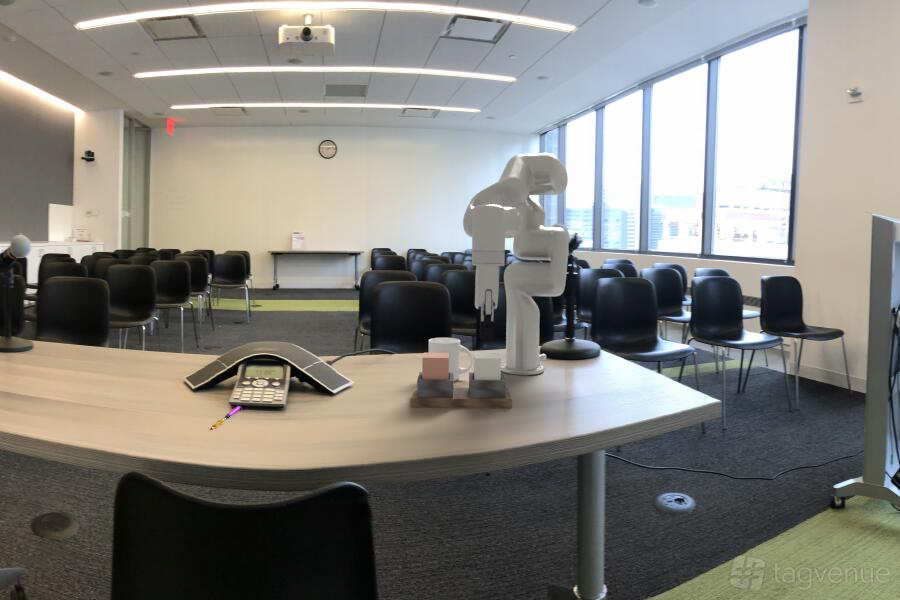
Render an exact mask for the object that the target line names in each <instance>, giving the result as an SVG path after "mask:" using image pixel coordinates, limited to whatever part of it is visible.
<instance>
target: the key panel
mask: <svg viewBox="0 0 900 600" xmlns="http://www.w3.org/2000/svg"><path fill="white" fill-rule="evenodd" d="M453 374H454V372H449V380H427V379H422V371H419V374H418V376H417V382H416V386H414V387H413V389H412V393H411V396H410V407H411V408H472V409H473V408H475V409H476V408H479V409H480V408H481V409H482V408H483V409H486V408H488V409H490V408H491V409H493V408H494V409H495V408H498V409H512V408H513V398H512V395H511V391H510V388H509V387H507V381H506V378H505V375H504V374H505V373H504V372H501V380H474V371H473V372H472V371H471V372H469V371H468V387H455V386H454V381H453Z"/></svg>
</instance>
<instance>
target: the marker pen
mask: <svg viewBox="0 0 900 600" xmlns="http://www.w3.org/2000/svg"><path fill="white" fill-rule="evenodd" d="M240 408H241V409H242V407H241V406H238V405H237V406H236V407H235V408H233V409H232V410H231V411H230V412H228V413H227V414H225V416H224V418H220V419H218V420H217V421H216V422H215V423H213V424H212V425H211V427H217V426H218V425H220V424H221V423H223V422H224V423H225V420H226V418H228V419H230V418H231V417H230V416H232V415H233V414H234V415H235V414H237V413H238V412H239V411H241V410H240ZM237 411H238V412H237ZM236 412H237V413H236ZM234 415H233V416H234ZM233 416H232V417H233ZM229 417H230V418H229ZM224 423H223V424H224ZM221 425H222V424H221ZM221 425H220V426H221ZM218 427H219V426H218ZM218 427H217V428H218Z"/></svg>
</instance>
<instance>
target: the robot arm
mask: <svg viewBox="0 0 900 600" xmlns="http://www.w3.org/2000/svg"><path fill="white" fill-rule="evenodd" d="M567 172H568V171H567V170H566V167H565V165H564V164H563V162H562V161H561V160H560V159H559V158H558V157H557V155H555V154H553V153H550V152H549V153H548V152H540V153H538V152H537V153H524V154H523V153H521V154H517V155H514V156H512V157H511V158H510V159H508V162H507V163H506V165H505V167H504V169H503V171H502V173H501V175H500V178H499V179H498V181H497V182H494V183H492V184H491V185H489V186H487V187H486V188H483V189H482V190H480V191H479V192H478V193H476V194H475V195H474V196H473V197H472V198H471V199H470V201H469V203H468V205H467V207H466V209H465V212H464V215H463V220H462V226H463V227H462V228H463V231H464V232H465V234H466V235H467V236H468V237H471V266H476V267H475V282H474V287H475V288H474V307H475V308H476V310H479V309H480V321H479V339H481V340H493V339H494V338H495V320H494V312H495V311H494V310H496V309H497V308H498V303H499V288H500V287H499V286H500V267H505V257H506V255H505V253H506V252H505V251H506V239H513V243H512V251H513V255H514V256H515V257H516V258H517V259H520V260H528V261H529V262H528V261H526V262H525V261H523V262H522V261H519V262H514V263H510V264H508V266H507V267H506V268H505V269H504V271H503V282H504V283H503V284H504V290H505V297H506V298H505V299H506V301H505V302H506V324H505V325H506V327H505V328H506V329H505V330H506V332H505V335H506V337H505V339H506V340H505V363H503V364H502V363H501V372H502V373H504V374H505V373H506V374H511V375H517V376H531V375H532V376H533V375H538V374H542V373H543V372H545V371H544V370H545V367H544V366H543V365H541V362H542V361H545V360H547V354H545V353H542V354H541V353H540V317H541V316H540V315H541V313H540V309H539V306H538V304H537V303H536V302H535V300H534V299H533V297H560V296H561V295H562V294H563V293H564V291H565V287H566V281H567V270H568V258H569V247H570V246H569V236H568V233H567V231H566V230H565V229H564V228H562V227H557V226H545V221H546V212H545V209H544V208H543V206H542V205H541V204H540V202H539V201H537V199H535V198H534V196H549V195H550V196H554V195H555V196H556V195H562V194H563V193H564V192H565V191H566V189H567V186H568V181H569V180H568V179H569V178H568V173H567ZM533 261H535V262H533ZM536 261H550V262H536Z"/></svg>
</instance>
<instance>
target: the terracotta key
mask: <svg viewBox="0 0 900 600" xmlns="http://www.w3.org/2000/svg"><path fill="white" fill-rule="evenodd" d="M421 361H422V367H421V368H422V371H421V372H422V379H427V380H449V353H429V352H423V354H422V359H421Z"/></svg>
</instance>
